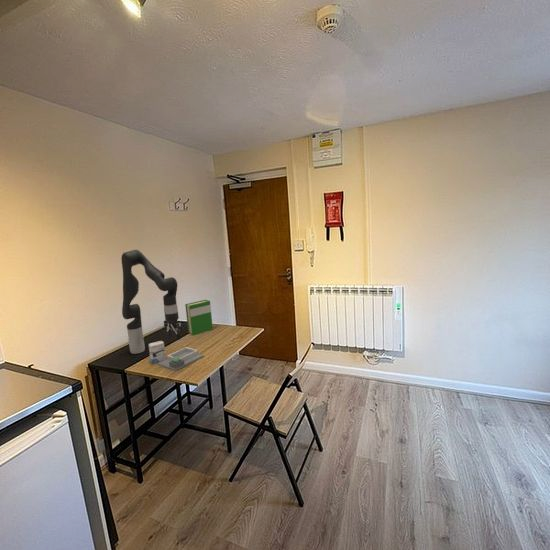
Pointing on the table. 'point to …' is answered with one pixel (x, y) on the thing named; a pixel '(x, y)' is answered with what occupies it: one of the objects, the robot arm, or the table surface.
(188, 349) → the grey tray
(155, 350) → the ink box
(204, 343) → the table surface
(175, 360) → the button
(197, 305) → the hardback book
